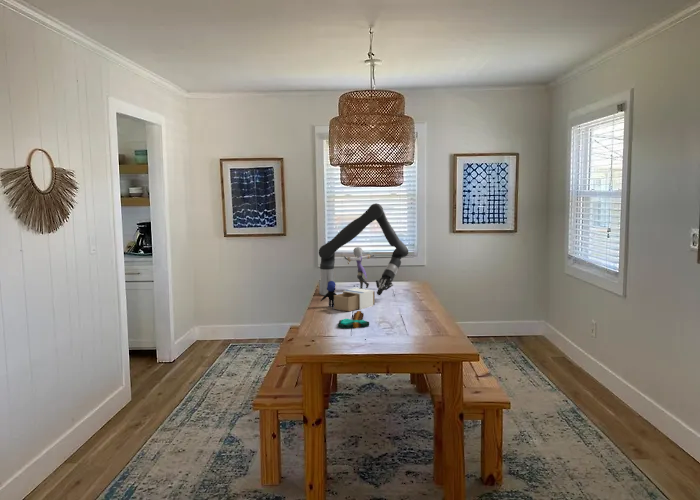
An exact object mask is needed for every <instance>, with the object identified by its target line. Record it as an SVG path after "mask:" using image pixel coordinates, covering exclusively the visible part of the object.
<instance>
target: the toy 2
mask: <svg viewBox="0 0 700 500" xmlns="http://www.w3.org/2000/svg"><path fill="white" fill-rule="evenodd" d="M369 326H370V321H367V320H364V312H362V311H361V310H358V311H356V312H354V313H353V316H352V319H350V318H343V319H340V320H339V321H338V323H337V328H340V329H351V328H354V329H358V328H366V327H369Z"/></svg>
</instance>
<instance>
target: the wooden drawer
mask: <svg viewBox="0 0 700 500" xmlns="http://www.w3.org/2000/svg"><path fill="white" fill-rule="evenodd" d="M375 300H376V299H375V291H374V290H373V306H374V305H376V304H375V303H376V302H375ZM333 309H334V310H336V311H337V310H338V311H341V312H342V311H343V312H351V311H356V310H359V294H353V293H343V292H342V293H338V294H337V295H334V306H333Z"/></svg>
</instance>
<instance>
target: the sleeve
mask: <svg viewBox="0 0 700 500" xmlns="http://www.w3.org/2000/svg"><path fill="white" fill-rule="evenodd" d="M373 291H374V290H373V289H368V288H366V289H365V288H363V289H360V287H353V288H348V289H345V290H342V293H353V294H359V309H358V311H361V310H364V309H367V308H368V309H369V308H371V307H374V305H373Z"/></svg>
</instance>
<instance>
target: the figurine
mask: <svg viewBox="0 0 700 500" xmlns="http://www.w3.org/2000/svg"><path fill="white" fill-rule="evenodd" d="M364 253H365V251H364V250H363V248H362V247H359V246H358V247H357V246H356V247H354V249H353V255H354V257H355V258H353V257H351V256H347V257H346V256H343V259H345V260H346V261H347V264H348V265H349V264H350V262H352V261H353V262H354V261H355V262H356V266H357V279H358V281H359V283H360V284H359V285H360V286H359V288H360V289H364V288H363V286H364V285H363V284H365V288H366V289H368V288H369V285H370V283H369V282H367V281H366V280H365V279H368V275H367V271H366V269H365V268H364V267H365V266H363V265H362V260H363V259H367V260H368V259H370V258H373V257H375V255H374V254H373V255H371V254H370V253H369V254H368V253H367V254H365V255H364ZM363 275H364V277H365V279H364V277H363Z"/></svg>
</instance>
